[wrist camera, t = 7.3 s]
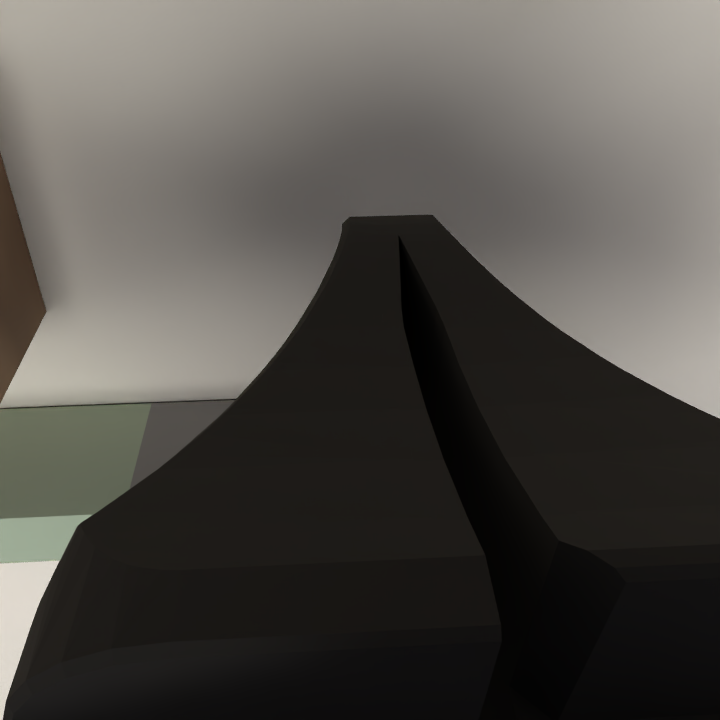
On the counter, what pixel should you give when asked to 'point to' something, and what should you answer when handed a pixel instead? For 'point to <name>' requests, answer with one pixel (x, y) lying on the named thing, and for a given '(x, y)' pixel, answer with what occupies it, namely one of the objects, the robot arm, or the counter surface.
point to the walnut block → (15, 288)
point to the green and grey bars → (81, 465)
